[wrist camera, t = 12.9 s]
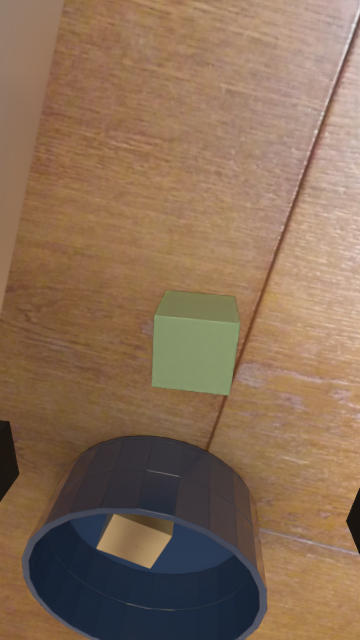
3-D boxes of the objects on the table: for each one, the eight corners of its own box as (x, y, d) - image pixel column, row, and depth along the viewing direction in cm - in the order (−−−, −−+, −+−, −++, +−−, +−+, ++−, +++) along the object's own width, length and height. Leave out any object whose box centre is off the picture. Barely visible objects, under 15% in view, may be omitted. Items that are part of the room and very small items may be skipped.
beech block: (113, 495, 30) (95, 548, 26) (129, 462, 29) (113, 514, 24) (159, 512, 31) (150, 569, 26) (178, 481, 29) (172, 536, 24)
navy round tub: (41, 531, 35) (2, 608, 28) (92, 403, 27) (54, 469, 20) (202, 592, 36) (200, 679, 30) (295, 487, 28) (319, 574, 22)
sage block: (163, 350, 24) (151, 387, 20) (165, 289, 22) (153, 315, 18) (226, 356, 24) (229, 396, 19) (235, 296, 22) (241, 323, 17)
